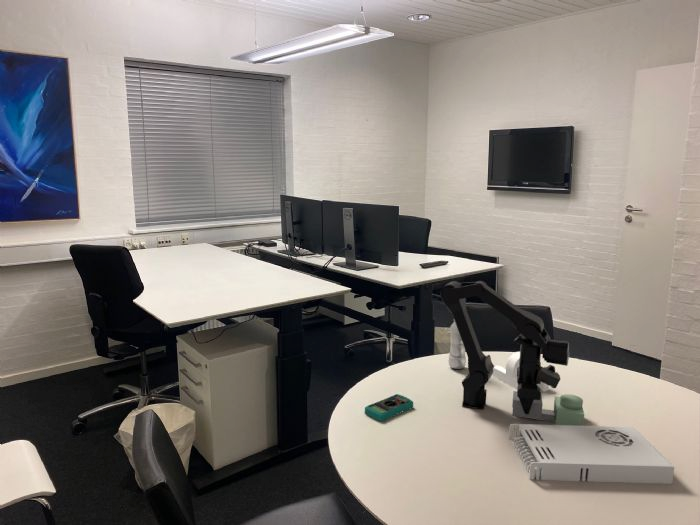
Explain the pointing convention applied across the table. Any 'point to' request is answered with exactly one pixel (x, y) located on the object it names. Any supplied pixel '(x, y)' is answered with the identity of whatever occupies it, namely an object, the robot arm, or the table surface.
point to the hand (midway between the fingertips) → (526, 409)
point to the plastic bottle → (456, 349)
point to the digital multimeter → (388, 407)
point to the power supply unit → (589, 454)
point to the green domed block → (565, 411)
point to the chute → (534, 411)
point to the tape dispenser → (512, 372)
